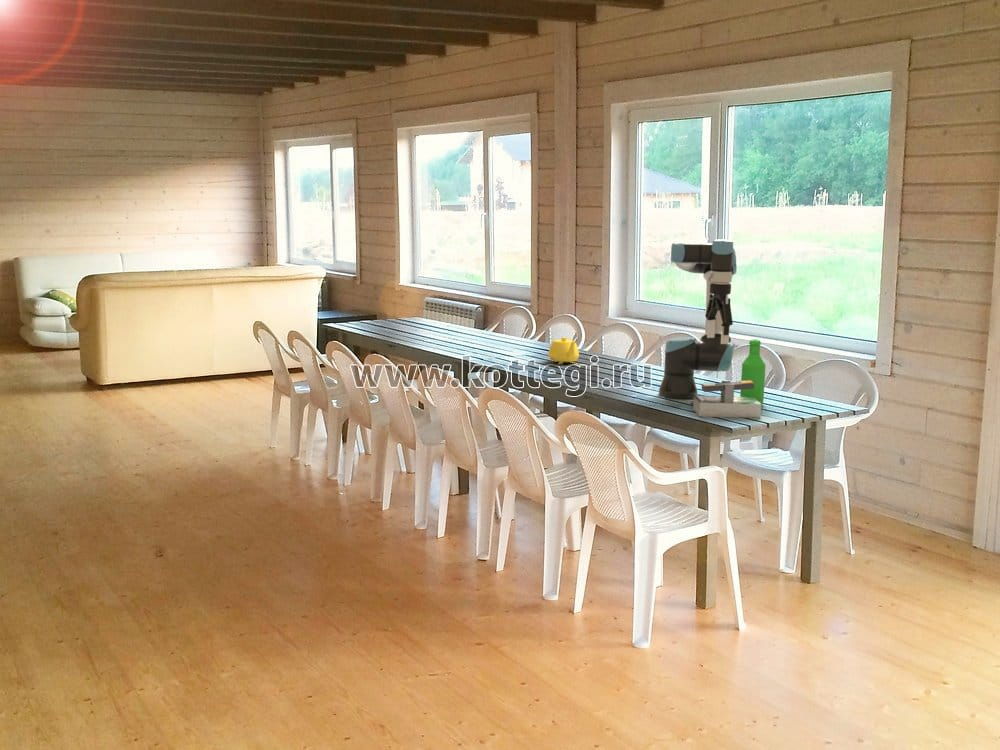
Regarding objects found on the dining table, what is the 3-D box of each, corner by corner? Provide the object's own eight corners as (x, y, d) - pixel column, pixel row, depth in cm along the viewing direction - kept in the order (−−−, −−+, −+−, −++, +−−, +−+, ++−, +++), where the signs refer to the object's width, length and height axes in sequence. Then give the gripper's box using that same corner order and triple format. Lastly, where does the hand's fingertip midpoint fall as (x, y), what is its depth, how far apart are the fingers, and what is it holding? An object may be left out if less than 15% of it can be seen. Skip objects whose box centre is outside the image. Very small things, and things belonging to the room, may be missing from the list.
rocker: (701, 389, 373) (701, 383, 372) (751, 386, 372) (750, 380, 371) (704, 392, 367) (704, 385, 367) (754, 388, 366) (754, 382, 366)
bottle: (736, 402, 392) (740, 338, 388) (758, 402, 393) (762, 338, 389) (743, 406, 384) (747, 341, 380) (766, 406, 384) (770, 341, 380)
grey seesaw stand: (693, 408, 378) (694, 378, 376) (752, 410, 378) (754, 380, 376) (699, 416, 364) (700, 385, 362) (760, 417, 364) (762, 386, 362)
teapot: (562, 367, 470) (562, 340, 468) (541, 361, 488) (542, 335, 486) (587, 365, 476) (587, 339, 474) (566, 359, 494) (566, 334, 492)
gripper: (698, 279, 378) (695, 335, 383) (723, 286, 354) (720, 346, 358) (717, 279, 380) (714, 334, 384) (744, 286, 355) (740, 346, 360)
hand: (717, 340), depth 371 cm, fingers open, 13 cm apart
